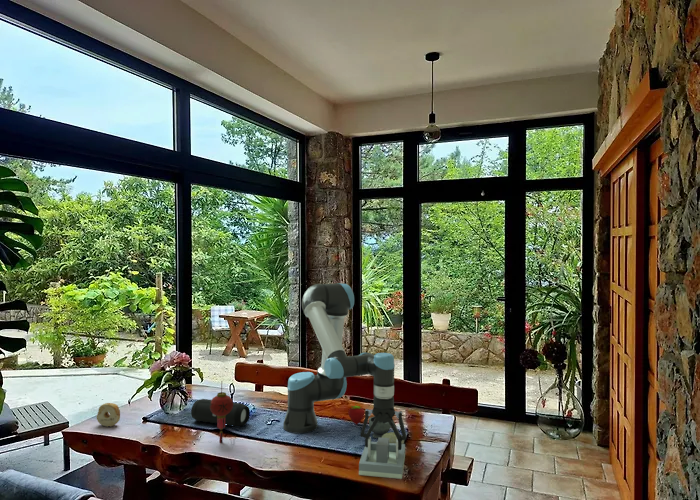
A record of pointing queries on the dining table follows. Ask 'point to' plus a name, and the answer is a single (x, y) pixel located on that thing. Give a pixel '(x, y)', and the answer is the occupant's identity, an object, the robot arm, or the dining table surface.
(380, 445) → the grey upright block
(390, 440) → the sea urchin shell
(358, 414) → the decorative fruit
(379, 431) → the mortar and pestle
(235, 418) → the portable speaker
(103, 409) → the stone disc
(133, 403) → the dining table surface
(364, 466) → the grey rectangular tray
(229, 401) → the lantern
